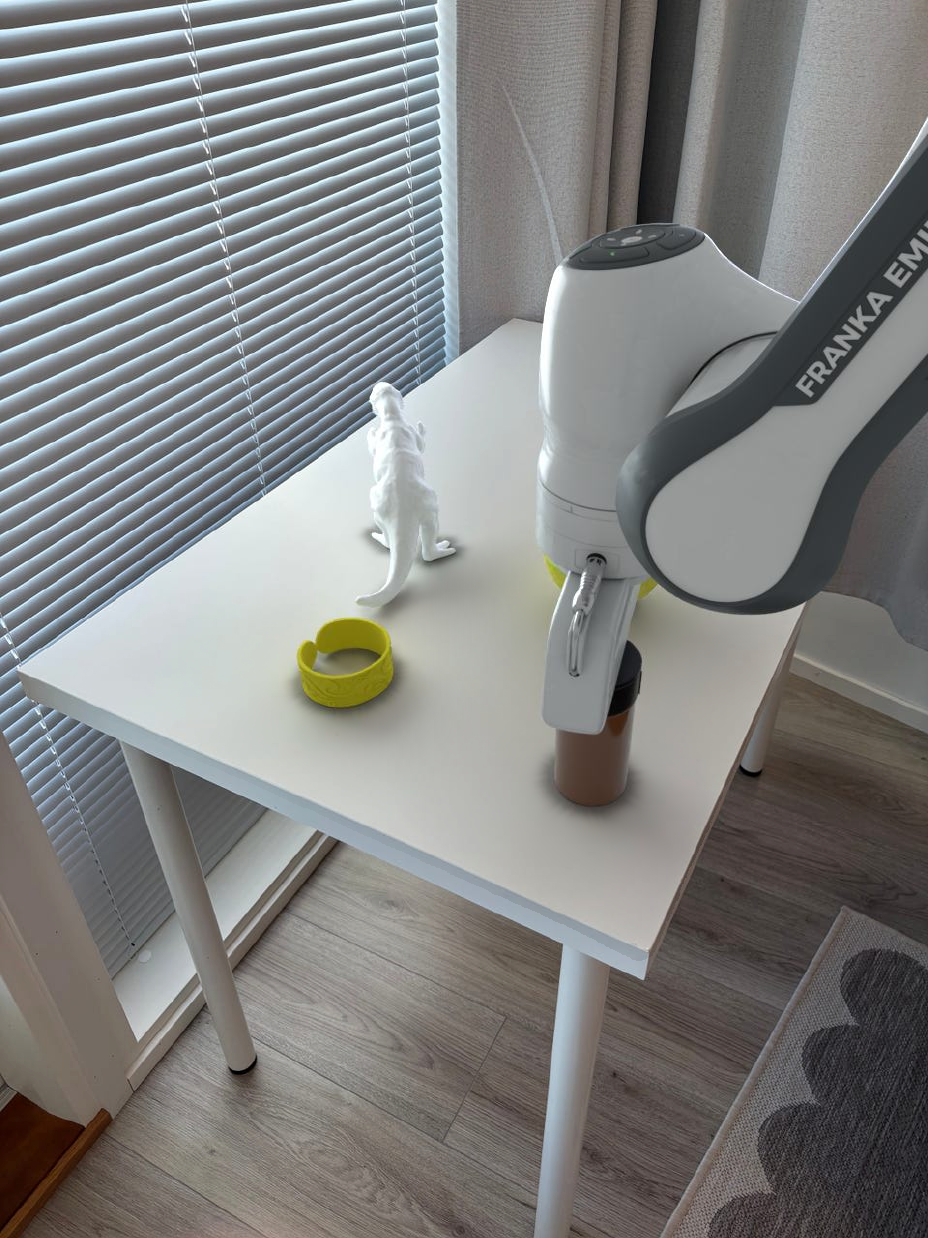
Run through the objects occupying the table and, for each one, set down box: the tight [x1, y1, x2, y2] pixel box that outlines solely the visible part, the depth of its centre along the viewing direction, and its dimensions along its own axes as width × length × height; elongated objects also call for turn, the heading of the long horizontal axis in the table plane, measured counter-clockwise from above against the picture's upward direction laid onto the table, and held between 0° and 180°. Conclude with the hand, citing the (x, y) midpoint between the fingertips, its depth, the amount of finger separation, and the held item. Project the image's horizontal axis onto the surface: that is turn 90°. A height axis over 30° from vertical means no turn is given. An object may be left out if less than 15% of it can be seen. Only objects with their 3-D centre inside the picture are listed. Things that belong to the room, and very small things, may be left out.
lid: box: [607, 639, 643, 716], centre depth 64 cm, size 6×6×3 cm
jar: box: [553, 700, 637, 807], centre depth 67 cm, size 5×5×12 cm
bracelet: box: [296, 617, 394, 708], centre depth 80 cm, size 7×8×3 cm
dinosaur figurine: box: [354, 381, 457, 609], centre depth 89 cm, size 20×10×15 cm, turn 170°
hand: (596, 684), depth 65 cm, fingers open, 6 cm apart
